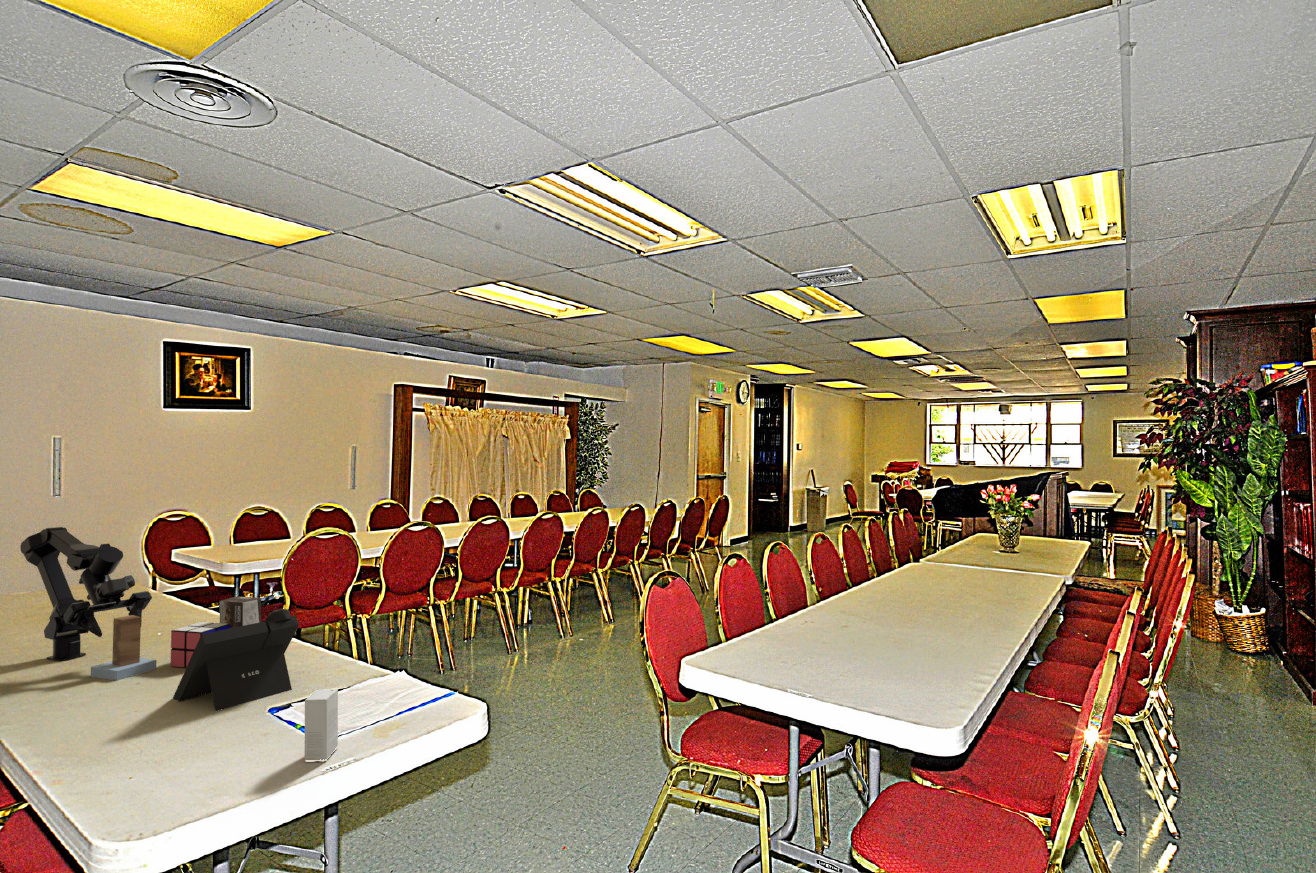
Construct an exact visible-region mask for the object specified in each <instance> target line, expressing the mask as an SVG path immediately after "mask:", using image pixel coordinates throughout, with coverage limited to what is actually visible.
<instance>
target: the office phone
mask: <svg viewBox="0 0 1316 873" xmlns="http://www.w3.org/2000/svg"><path fill="white" fill-rule="evenodd" d="M299 626H300V623H299V620H298V618H297V615H291V611H290V610H289V609H287V608H286V609H285V608H279V609H274V610H272V611H271V612H270V613H269V615H267V617H266V619H265V620H264V621H261V622H259V623H254V624H249V625H244V626H239V627H234V628H229V629H225V630H220V631H215V632H210V633H205V634H201V637H200V639H199V641H198V643H197V645H196V648H195V650H194V652H193V654H192V656H191V659H190V661H189V663H188V665H187V668H185V670H184V673H183V674H182V675H181V676H182V677H181V679H180V681H179V684H178V685H177V688H176V690H175V692H174V694H173V697H172V699H173V700H175V701H177V702H183V701H187V700H189V699H190V700H191V699H195V698H199V697H202V696H205V695H210V694H211V696H212V701H213V706H214V712H219V711H222V710H226V709H229V708H233V707H236V706H240V705H243V704H247V703H250V702H253V701H257V700H261V699H264V698H268V697H271V696H275V695H278V694H283V693H285V692H289V691H293V688H292V684H291V679H290V675H289V669H288V666H287V662H286V661H287V660H286V657H285V653H286V651H287V650H288V647H289V645H290V643H291V641H292V640H293V638H294V635H295V634H296V632H297V631H298V629H299ZM221 709H222V710H221ZM218 710H219V711H218Z"/></svg>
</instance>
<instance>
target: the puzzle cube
mask: <svg viewBox="0 0 1316 873" xmlns="http://www.w3.org/2000/svg"><path fill="white" fill-rule="evenodd" d="M229 628H230V624H226V623H220V622H207V621H199V622H196V623H192V624H189V625H185V626H181V627H177V628H175V629H172V630H171V631H170V636H171V637H170V648H171V649H170V667H171V668H183V669H186V668H187V665H188V663H189V661H190V659H191V656H192V654H193V652H194V650H195V648H196V645H197V643H198V641H199V639H200V637H201V634H205V633H210V632H215V631H220V630H225V629H229Z"/></svg>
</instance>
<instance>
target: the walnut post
mask: <svg viewBox="0 0 1316 873" xmlns="http://www.w3.org/2000/svg"><path fill="white" fill-rule="evenodd" d="M112 622H113V623H112V624H113V626H112V627H113V629H112V631H113V632H112V658H111V659H112V660H111V661H112V664H114V665H117V666H120V667H121V666H126V665H130V664H135V663H139V662H140V658H141V631H142V630H141V628H142V623H141V617H139V616H134V615H130V616H129V615H124V616H120V617H113V621H112Z"/></svg>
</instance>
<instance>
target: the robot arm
mask: <svg viewBox="0 0 1316 873" xmlns="http://www.w3.org/2000/svg"><path fill="white" fill-rule="evenodd" d="M19 547H20V551H21V552H20V553H21V554H22V555H23V556H24V558H25V559H26V562H28V563H30V564H32V565H33V566H35V567H37V569H38V572H39V575H40V577H41V580H42V582H43V585H44V587H45V590H46V593H47V595H48V597H49V600H50V603H51V605H52V610H51V613H50V615H49V616H48V618H49V621H48V623H47V625H46V627H45V628H44V630H43V635H44V639H49V640H52V655H51V656H50V655H49V656H47V657H46V660H51V661H58V662H64V661H67V660H71V659H75V658H80V657H84V656H86V655H87V653H86V652H81V649H82V648H81V646H82V645H81V643H82V642H81V634H88V633H92V635H95V636H97V637H98V638H102V636H103V632H102V629H101V627H100V625H99V623H98V621H97V619H96V617H95V613H99V612H106V611H112V610H118V609H124V608H126V611H128V614H127V616H130V615H134V616H139V617H141V624H142V618H143V616H142V615H143V611H144V610H145V609H146V608H147V606H148V605H149V603H150V602H151V600H152V599H153V596H152V594H151V592H150V591H147V590H145V591H144V590H143V591H139V592H133V593H131V595H130V597H129V598H128V599H121V598H123V597H124V596H125V592H126V591H129V590H130V589H132V588H133V587H135V586H136V580H135V578H134V577H133V575H132V574H131V575H129V574H128V575H125V576H124V577H121V578H116V579H112V578H111V576H110V575H111V574H113V573H114V572H115V570H116V569H117V567H118V566H119V565H120V562H121V561H122V559H123V558H124V552H123V551H122V550H121V549H120V548H117V547H115V546H111V544H110V543H101V544H100V545H99V546H97V545H95V544H86V543H84V542H82V541H81V540H80V539H78V538H77V537H76V536H74V535H73V534H71V533H70V532H69V530H68V529H67V527H64V526H55V527H46V528H45V529H44V528H43V529H42V530H40V531H39V532H37V533H35V534H31V535H29V536H27V537H26V538H25V539H23V541H22V542H21V543H20V546H19ZM60 553H62V555H64V556H65V557H66V564H67V566H68V567H70V569H71V570H72V571H82V570H83V571H82V573H81V574H80V578H79V581H78V584H79V585H82V584H83V585H84V587H85V589H86V592H87V594H88V595H86V599H87V600H84V599H75V597H74V594H73V592H72V590H71V587H70V586H69V583H68V580H67V578H66V576H65V573H64V570H63V568H62V565H61V563H60V560H59V556H60ZM90 601H91V602H90ZM91 603H92V604H91Z"/></svg>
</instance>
